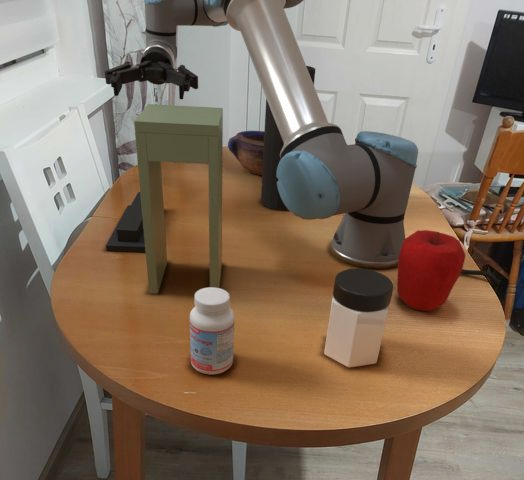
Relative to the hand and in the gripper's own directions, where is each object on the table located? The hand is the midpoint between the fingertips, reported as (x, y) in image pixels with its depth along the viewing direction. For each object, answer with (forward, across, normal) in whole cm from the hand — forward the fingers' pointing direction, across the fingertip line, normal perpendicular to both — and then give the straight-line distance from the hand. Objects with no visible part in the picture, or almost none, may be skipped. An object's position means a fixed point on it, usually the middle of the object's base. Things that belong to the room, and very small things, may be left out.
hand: (148, 90), depth 109 cm
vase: (-1, -30, -25) cm, 40 cm away
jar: (+61, -35, -18) cm, 73 cm away
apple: (+47, -50, -19) cm, 72 cm away
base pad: (+17, +2, -23) cm, 29 cm away
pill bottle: (+64, -14, -18) cm, 68 cm away
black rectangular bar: (+15, +2, -22) cm, 27 cm away
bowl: (-26, -28, -28) cm, 48 cm away
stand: (+39, -9, -21) cm, 45 cm away
